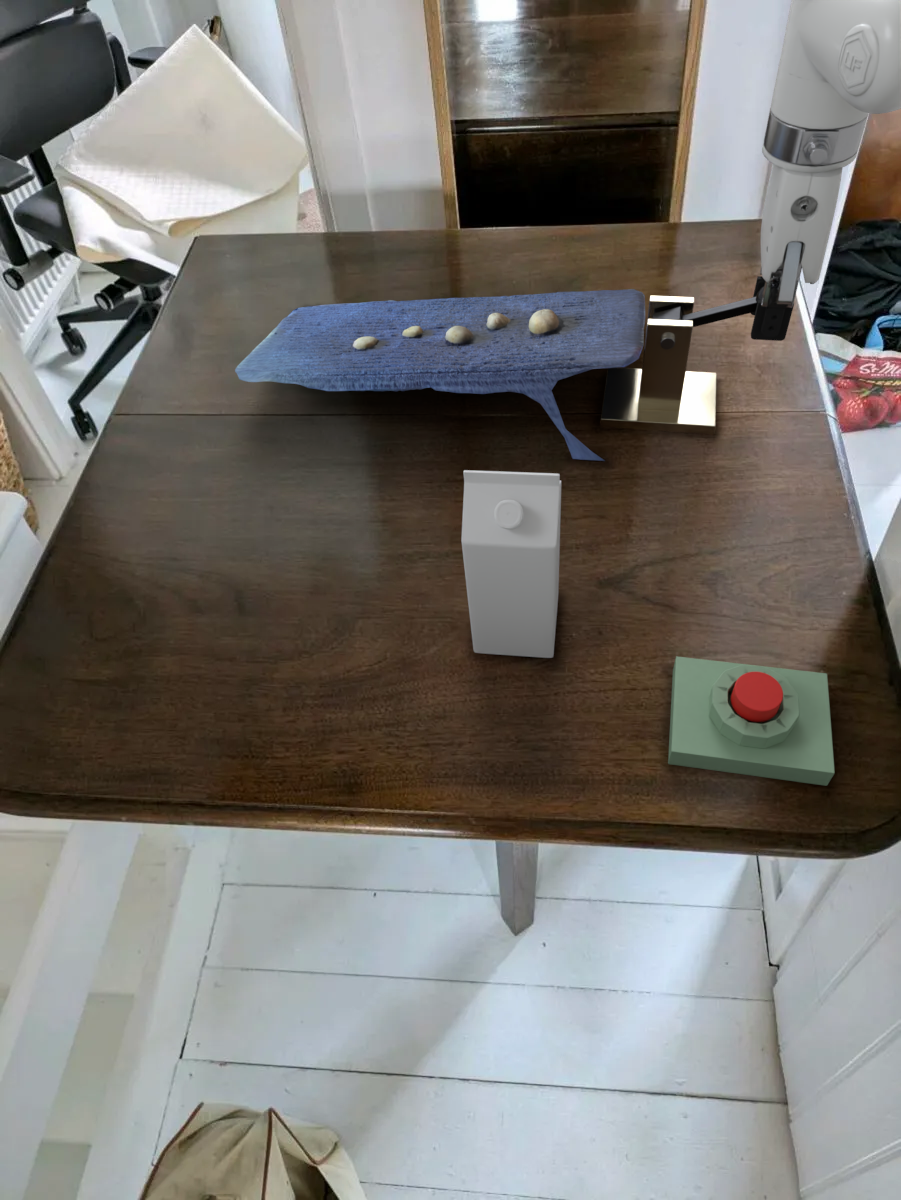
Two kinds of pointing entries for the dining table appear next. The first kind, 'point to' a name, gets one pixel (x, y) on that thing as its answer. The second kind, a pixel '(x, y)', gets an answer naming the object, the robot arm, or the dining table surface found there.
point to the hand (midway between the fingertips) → (767, 324)
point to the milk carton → (512, 560)
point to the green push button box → (750, 724)
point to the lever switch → (715, 311)
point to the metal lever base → (662, 380)
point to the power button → (756, 696)
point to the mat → (455, 345)
